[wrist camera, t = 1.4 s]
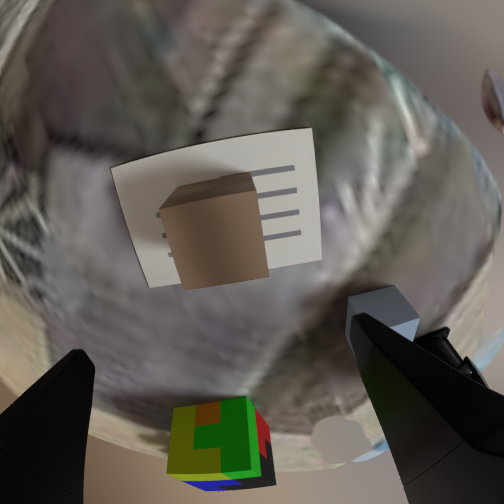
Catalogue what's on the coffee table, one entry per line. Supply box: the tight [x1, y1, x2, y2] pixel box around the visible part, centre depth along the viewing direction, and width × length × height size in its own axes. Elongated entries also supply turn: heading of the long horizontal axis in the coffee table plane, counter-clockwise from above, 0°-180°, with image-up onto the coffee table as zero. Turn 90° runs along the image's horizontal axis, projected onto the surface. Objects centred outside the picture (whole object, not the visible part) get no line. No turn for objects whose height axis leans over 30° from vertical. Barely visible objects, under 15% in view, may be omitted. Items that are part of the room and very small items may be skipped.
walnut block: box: [159, 173, 269, 290], centre depth 16 cm, size 5×5×5 cm
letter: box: [111, 128, 322, 288], centre depth 19 cm, size 14×10×1 cm
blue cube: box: [345, 286, 420, 359], centre depth 22 cm, size 5×5×5 cm
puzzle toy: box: [167, 396, 276, 491], centre depth 27 cm, size 10×10×10 cm
